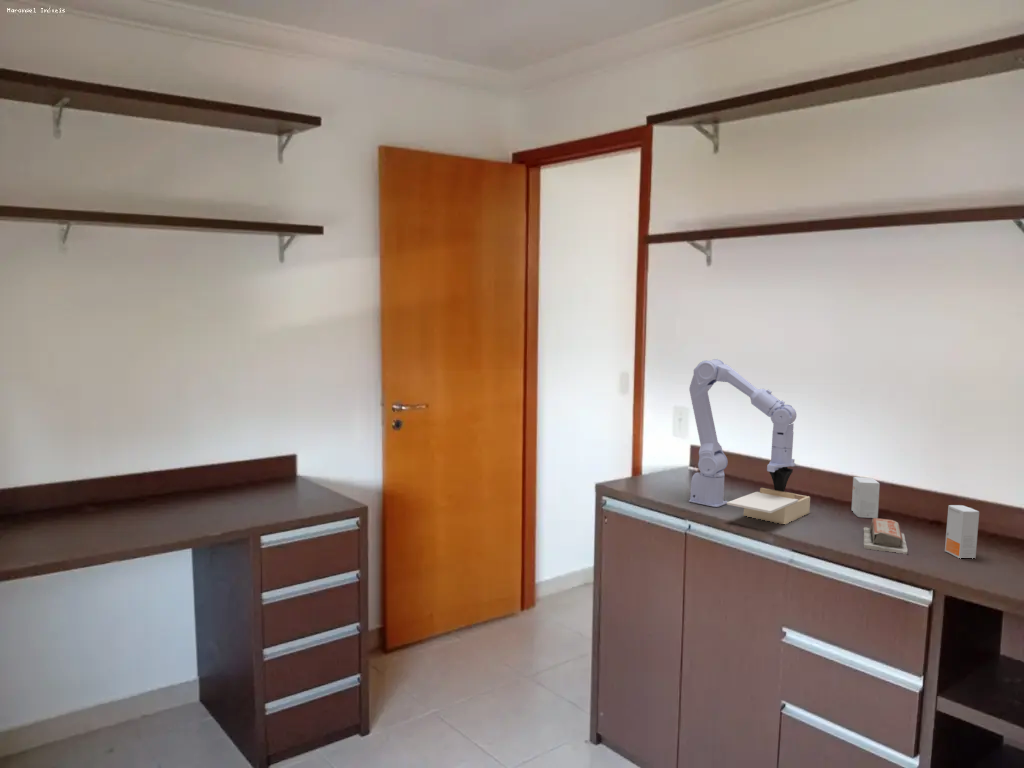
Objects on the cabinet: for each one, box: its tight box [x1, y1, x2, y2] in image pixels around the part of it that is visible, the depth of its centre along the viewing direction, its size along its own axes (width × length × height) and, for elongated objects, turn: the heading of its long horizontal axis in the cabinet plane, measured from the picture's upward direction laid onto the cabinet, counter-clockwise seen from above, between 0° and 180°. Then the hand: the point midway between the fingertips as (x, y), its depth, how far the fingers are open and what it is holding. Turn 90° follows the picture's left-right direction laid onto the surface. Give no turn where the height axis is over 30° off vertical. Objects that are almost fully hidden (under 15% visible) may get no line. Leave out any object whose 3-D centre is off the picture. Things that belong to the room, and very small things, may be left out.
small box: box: [851, 476, 881, 519], centre depth 226 cm, size 8×6×10 cm
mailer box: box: [743, 493, 811, 525], centre depth 224 cm, size 12×18×5 cm, turn 138°
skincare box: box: [944, 504, 980, 560], centre depth 189 cm, size 6×4×12 cm
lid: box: [726, 487, 798, 513], centre depth 216 cm, size 13×19×2 cm, turn 138°
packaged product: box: [863, 517, 909, 555], centre depth 199 cm, size 18×5×10 cm
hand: (779, 492), depth 224 cm, fingers closed
